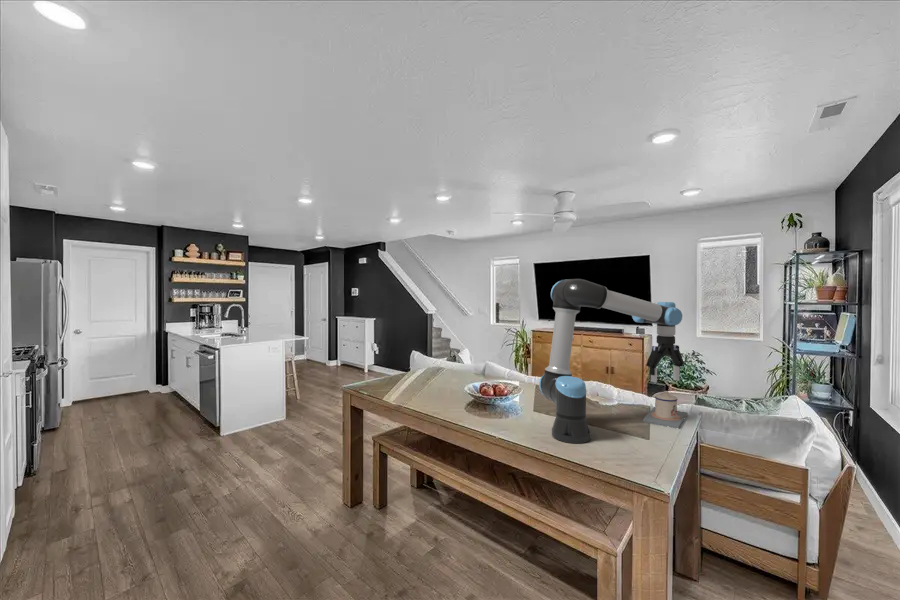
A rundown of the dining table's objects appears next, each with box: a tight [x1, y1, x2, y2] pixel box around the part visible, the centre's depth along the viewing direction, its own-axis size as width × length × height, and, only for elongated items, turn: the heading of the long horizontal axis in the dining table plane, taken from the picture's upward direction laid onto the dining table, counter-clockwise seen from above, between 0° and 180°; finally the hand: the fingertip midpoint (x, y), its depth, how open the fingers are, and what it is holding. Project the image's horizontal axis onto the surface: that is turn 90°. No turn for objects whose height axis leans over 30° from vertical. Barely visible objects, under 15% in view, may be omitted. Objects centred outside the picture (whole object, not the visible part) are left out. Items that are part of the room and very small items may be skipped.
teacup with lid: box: [654, 390, 678, 419], centre depth 176 cm, size 12×9×12 cm
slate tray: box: [642, 407, 688, 430], centre depth 176 cm, size 24×14×1 cm, turn 141°
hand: (665, 381), depth 176 cm, fingers open, 13 cm apart
